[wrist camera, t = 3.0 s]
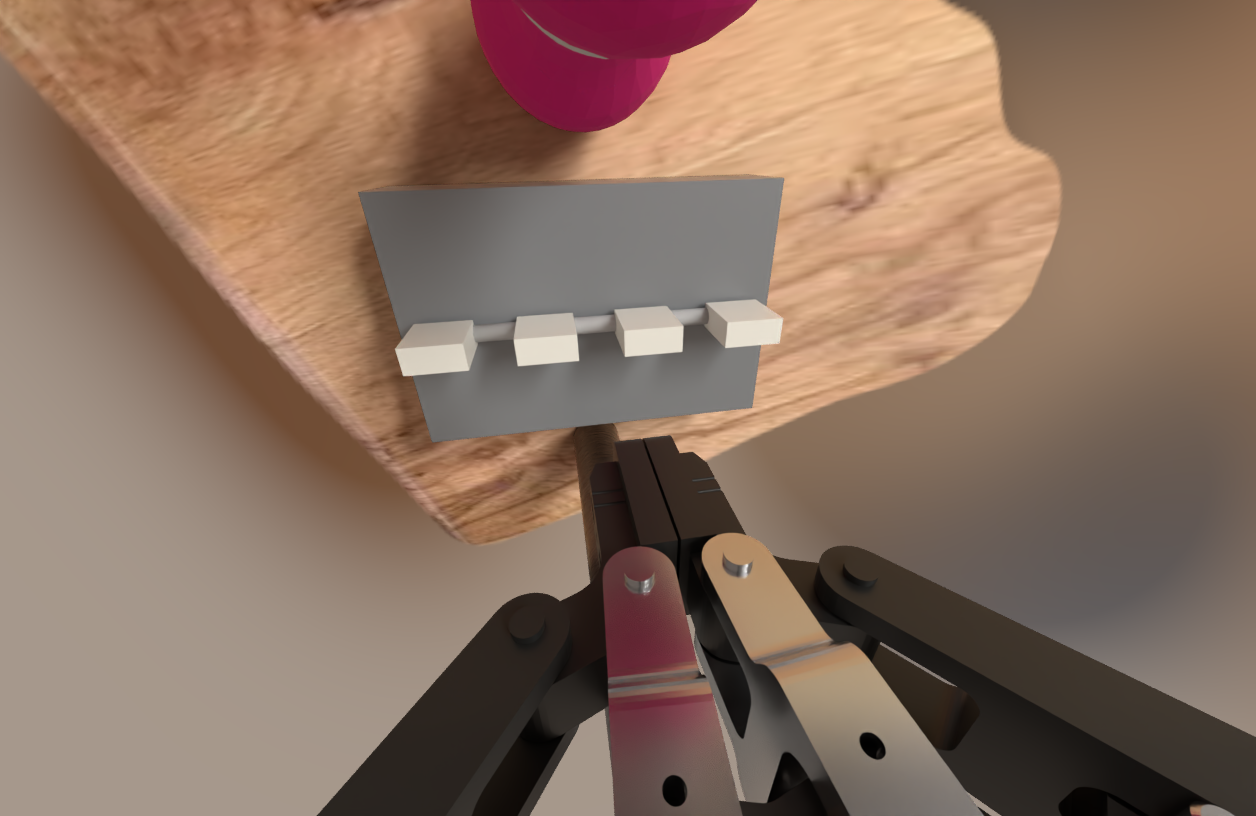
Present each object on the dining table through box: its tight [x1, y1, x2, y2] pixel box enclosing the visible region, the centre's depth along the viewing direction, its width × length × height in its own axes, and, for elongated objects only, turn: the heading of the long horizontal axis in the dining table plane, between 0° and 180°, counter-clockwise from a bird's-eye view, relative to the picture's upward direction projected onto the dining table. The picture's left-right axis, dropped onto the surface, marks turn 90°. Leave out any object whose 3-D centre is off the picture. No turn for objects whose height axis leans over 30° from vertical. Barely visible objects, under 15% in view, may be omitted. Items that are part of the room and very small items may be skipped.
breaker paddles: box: [395, 299, 783, 376], centre depth 20 cm, size 1×16×3 cm, turn 90°
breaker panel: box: [358, 175, 784, 442], centre depth 23 cm, size 12×18×4 cm, turn 91°
